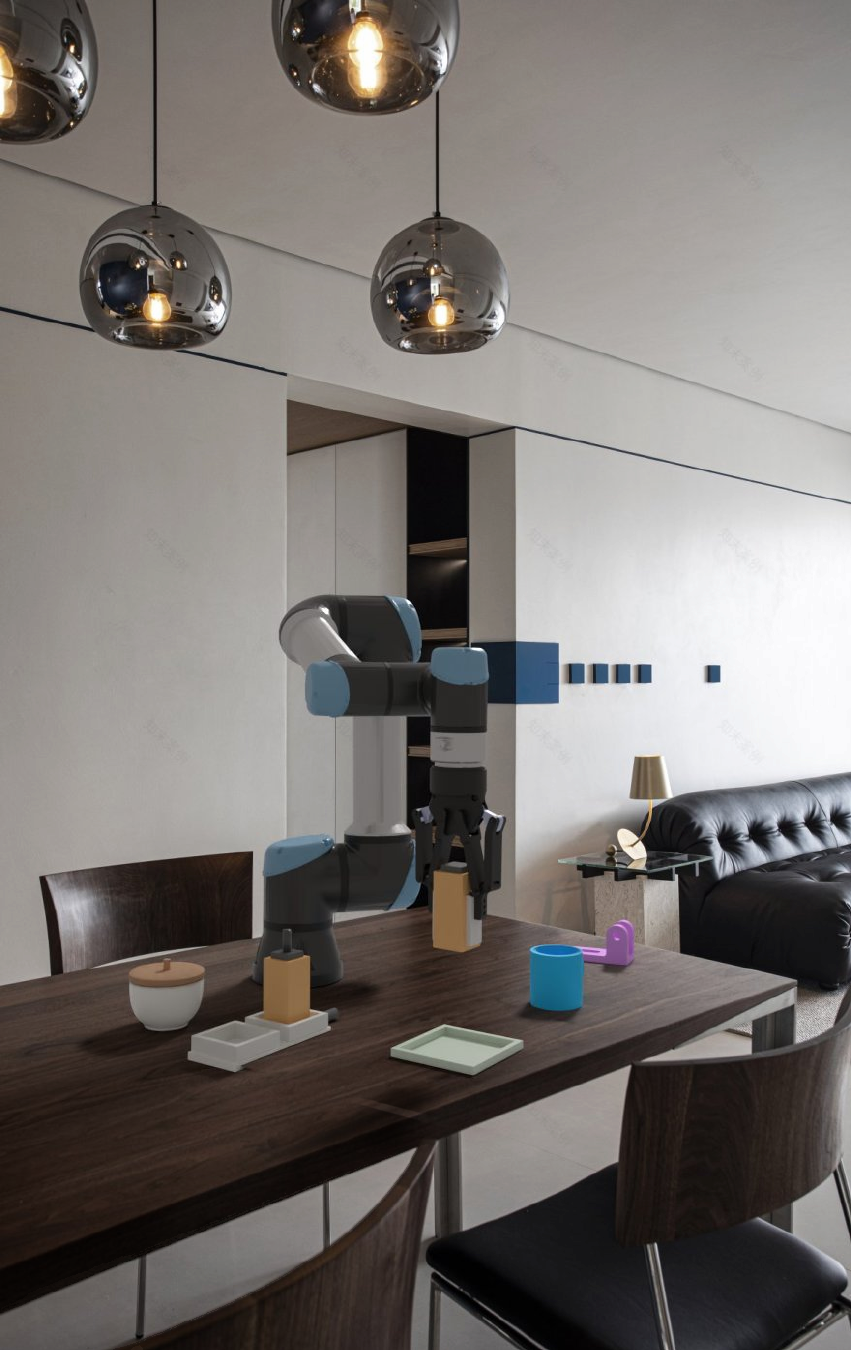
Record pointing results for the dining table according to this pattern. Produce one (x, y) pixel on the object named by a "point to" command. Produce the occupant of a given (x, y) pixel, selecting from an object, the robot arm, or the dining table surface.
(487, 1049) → the tray
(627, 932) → the bracket
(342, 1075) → the dining table surface
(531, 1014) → the dining table surface
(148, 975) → the lidded jar
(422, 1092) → the dining table surface
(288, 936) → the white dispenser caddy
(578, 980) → the mug
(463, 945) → the orange capped pillar
